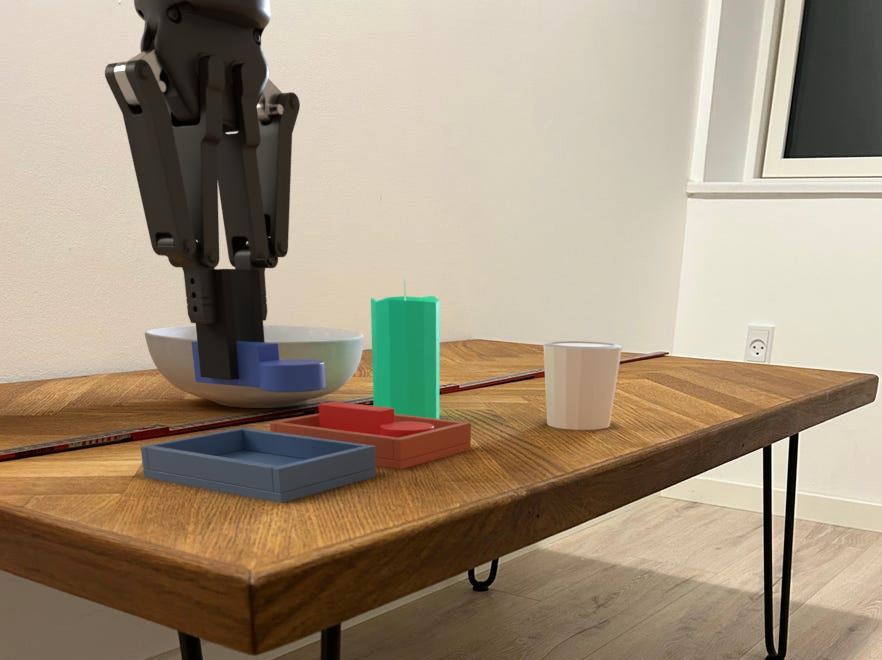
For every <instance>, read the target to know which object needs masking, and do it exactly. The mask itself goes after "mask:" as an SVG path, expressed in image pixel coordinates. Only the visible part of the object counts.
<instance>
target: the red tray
mask: <svg viewBox="0 0 882 660" xmlns="http://www.w3.org/2000/svg"><path fill="white" fill-rule="evenodd" d="M394 421H395V422H399V421H414V422H425V423H429V424H432V425H434V429H433V430H429V431H425V432H421V433H417V434H412V435H408V436H404V437H400V438H396V437H389V436H381V435H373V434H366V433H358V432H351V431H343V430H335V429H328V428H320V424H319V413H314V414H308V415H303V416H298V417H293V418H286V419H280V420H276V421H271V422H269V431H271V432H278V433H286V434H293V435H300V436H307V437H315V438H322V439H329V440H336V441H343V442H351V443H358V444H365V445H372V446H375V467H382V468H387V469H397V470H403V469H407V468H411V467H414V466H417V465H421V464H426V463H428V462H431V461H435V460H436V461H437V460H439V459H443V458H446V457H450V456H454V455H456V454H461V453H464V452H467V451H470V450H471V449H472V447H471V446H472V444H471V442H472V441H471V440H472V437H471V436H472V422H469V421H461V420H460V421H459V420H453V419H452V420H451V419H442V418H439V419H435V418H426V417H418V416H409V415H400V414H394Z"/></svg>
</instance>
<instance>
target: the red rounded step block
mask: <svg viewBox="0 0 882 660" xmlns="http://www.w3.org/2000/svg"><path fill="white" fill-rule="evenodd" d="M318 414H319V424H320V428H328V429H335V430H343V431H351V432H358V433H366V434H373V435H381V436H389V437H396V438H400V437H404V436H408V435H412V434H417V433H421V432H425V431H429V430H433V429H434V425H432V424H429V423H425V422H414V421H399V422H395V421H394V408H387V407H378V406H373V405H368V404H361V403H352V402H351V403H350V402H342V401H334V400H333V401H327V402H322V403H318Z"/></svg>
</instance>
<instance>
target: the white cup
mask: <svg viewBox="0 0 882 660" xmlns="http://www.w3.org/2000/svg"><path fill="white" fill-rule="evenodd" d="M542 347H543V361H544V362H543V367H544V387H545V388H544V389H545V409H546V411H545V412H546V424H547V426H549V427H551V428H555V429H562V430H574V431H594V430H595V431H596V430H603V429H607V428H609V427H610V426H611V419H612V415H613V414H612V413H613V407H614V401H615V394H616V389H617V382H618V376H619V369H620V363H621V356H622V349H623V346H621V345H620V344H616V343H609V342H600V341H585V340H584V341H583V340H581V341H578V340H577V341H575V340H574V341H573V340H571V341H553V342H548V343H544V344H543V345H542Z"/></svg>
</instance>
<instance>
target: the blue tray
mask: <svg viewBox="0 0 882 660" xmlns="http://www.w3.org/2000/svg"><path fill="white" fill-rule="evenodd" d="M140 453H141V462H142V468H143V469H142V470H143V471H142V472H143V478H145V479H151V480H156V481H160V482H165V483H166V482H168V483H173V484H176V485H177V484H178V485H183V486H189V487H193V488H198V489H204V490H209V491H214V492H221V493H225V494H226V493H227V494H231V495H236V496H242V497H245V498H246V497H248V498H252V499H256V500H257V499H259V500H263V501H269V502H273V503H279V504H283V503H286V502H291V501H294V500H298V499H300V498H305V497H309V496H311V495H315V494H319V493H323V492H326V491H329V490H333V489H336V488H340V487H343V486H347V485H351V484H354V483H358V482H360V481H365V480H368V479H372V478H375V477H376V475H377V473H376V472H377V471H376V470H377V469H376V466H375V446H372V445H365V444H358V443H351V442H343V441H336V440H329V439H322V438H315V437H307V436H300V435H293V434H286V433H278V432H271V431H270V430H263V429H262V430H261V429H256V428H248V427H238V428H231V429H226V430H221V431H216V432H209V433H205V434H204V433H203V434H199V435H193V436H188V437H182V438H177V439H171V440H167V441H160V442H155V443H149V444H143V445H140Z"/></svg>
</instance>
